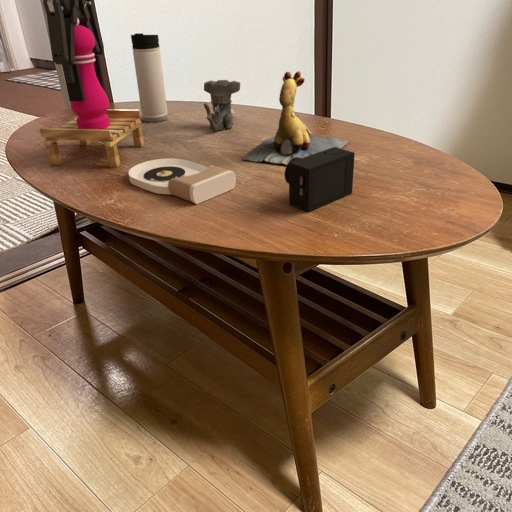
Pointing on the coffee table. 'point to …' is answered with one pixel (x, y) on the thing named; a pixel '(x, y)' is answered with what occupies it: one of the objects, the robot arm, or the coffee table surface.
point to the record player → (182, 179)
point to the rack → (96, 135)
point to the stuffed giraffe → (291, 132)
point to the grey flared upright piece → (220, 103)
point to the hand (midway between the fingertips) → (88, 95)
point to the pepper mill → (89, 84)
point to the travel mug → (149, 77)
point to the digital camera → (320, 178)
